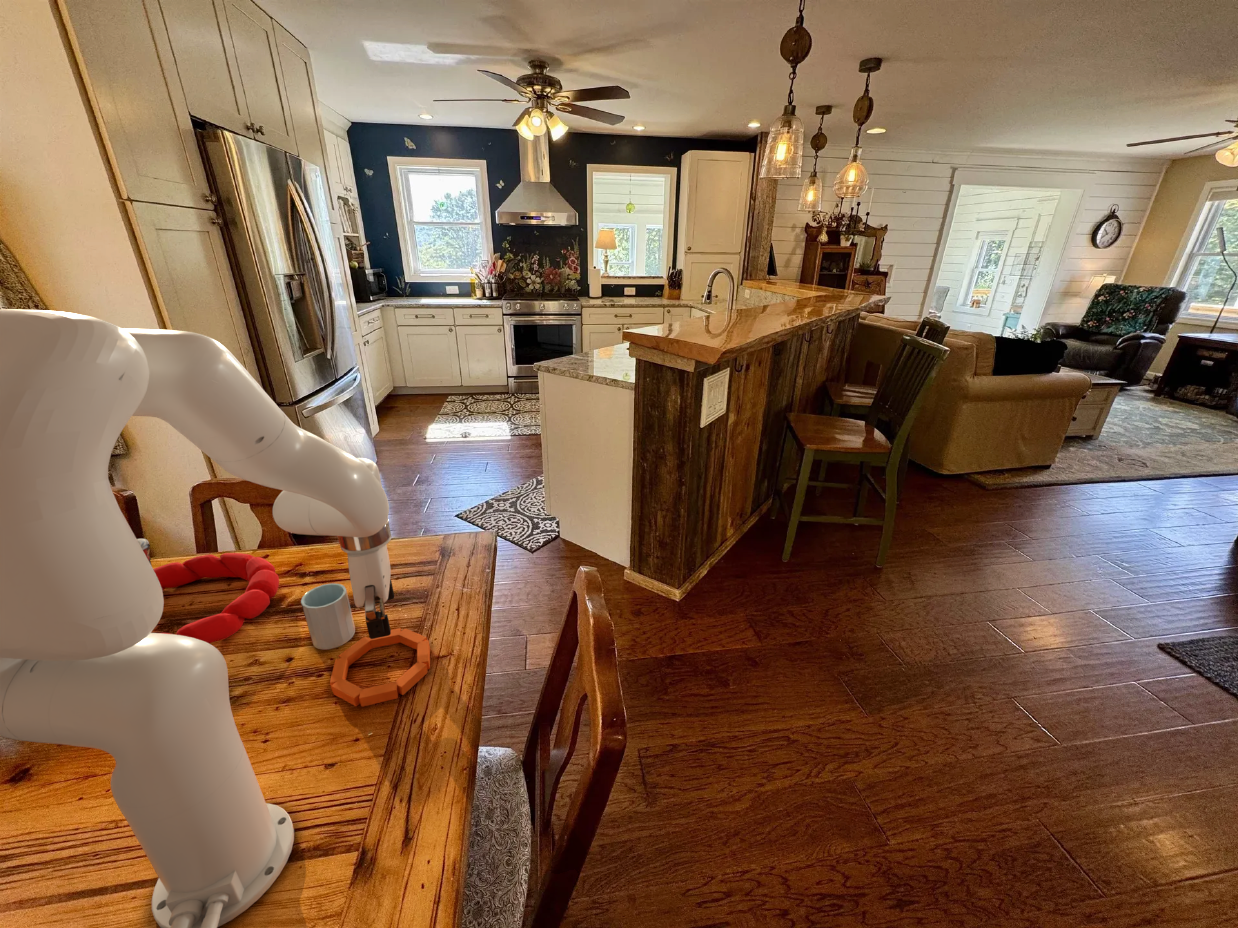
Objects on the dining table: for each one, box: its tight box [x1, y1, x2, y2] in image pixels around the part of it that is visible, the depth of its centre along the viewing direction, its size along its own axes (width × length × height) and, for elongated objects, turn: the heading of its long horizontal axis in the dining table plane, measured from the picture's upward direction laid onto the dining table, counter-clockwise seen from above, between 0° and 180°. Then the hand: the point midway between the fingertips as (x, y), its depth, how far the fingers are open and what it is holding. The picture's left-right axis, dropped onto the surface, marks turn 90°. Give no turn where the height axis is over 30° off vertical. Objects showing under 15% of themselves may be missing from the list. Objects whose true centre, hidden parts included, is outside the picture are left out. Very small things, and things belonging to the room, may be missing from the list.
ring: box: [329, 627, 431, 708], centre depth 82 cm, size 15×15×2 cm
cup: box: [300, 582, 356, 650], centre depth 87 cm, size 7×7×9 cm
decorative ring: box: [153, 552, 280, 644], centre depth 93 cm, size 7×30×30 cm
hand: (383, 616), depth 86 cm, fingers open, 9 cm apart
